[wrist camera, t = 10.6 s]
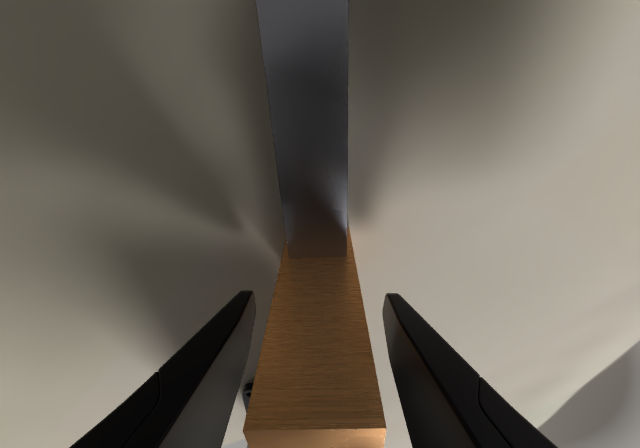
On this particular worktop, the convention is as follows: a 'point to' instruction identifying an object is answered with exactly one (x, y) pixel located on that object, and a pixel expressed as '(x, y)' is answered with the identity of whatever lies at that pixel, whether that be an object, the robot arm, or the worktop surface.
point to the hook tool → (313, 246)
